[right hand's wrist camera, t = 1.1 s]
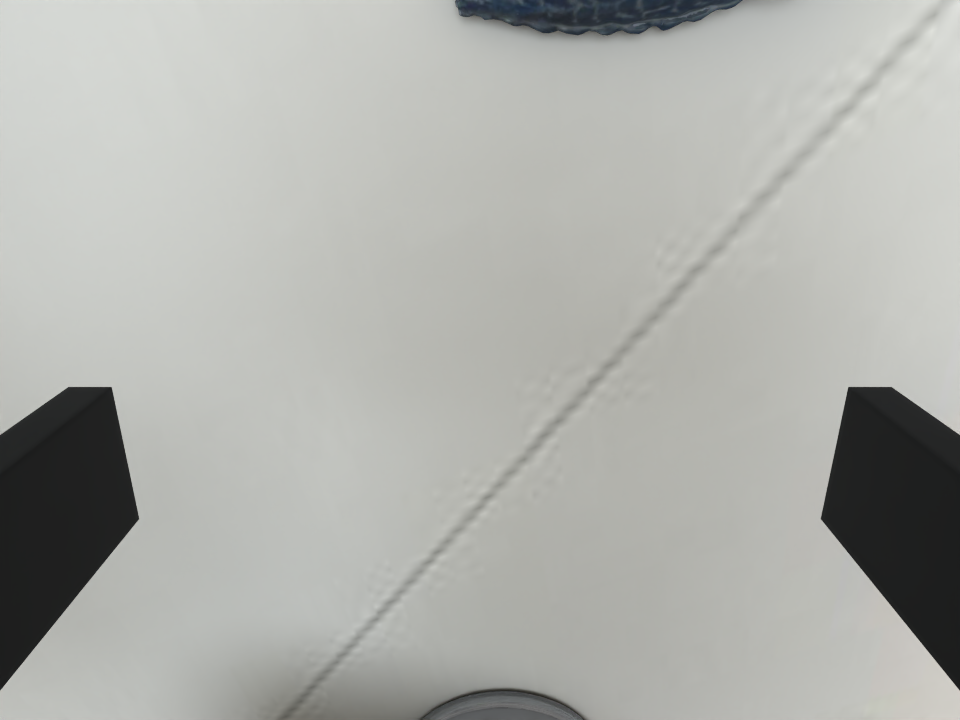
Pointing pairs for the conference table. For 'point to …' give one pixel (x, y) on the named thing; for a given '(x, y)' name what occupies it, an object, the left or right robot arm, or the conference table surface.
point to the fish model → (593, 13)
